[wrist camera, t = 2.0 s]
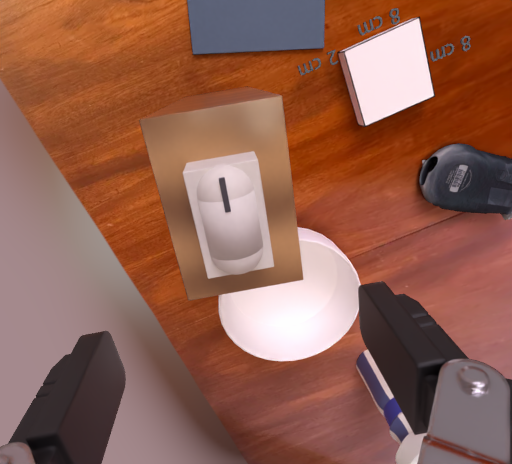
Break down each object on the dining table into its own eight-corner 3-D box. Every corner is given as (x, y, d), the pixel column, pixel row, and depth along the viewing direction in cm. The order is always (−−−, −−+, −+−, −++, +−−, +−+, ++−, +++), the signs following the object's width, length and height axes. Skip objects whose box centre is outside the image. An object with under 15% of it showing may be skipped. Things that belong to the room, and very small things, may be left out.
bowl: (225, 331, 60) (225, 369, 52) (211, 222, 52) (210, 246, 45) (341, 318, 61) (358, 353, 53) (344, 209, 53) (365, 231, 46)
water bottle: (364, 338, 63) (446, 485, 40) (406, 348, 65) (508, 494, 42) (346, 374, 66) (412, 530, 43) (386, 382, 68) (471, 536, 45)
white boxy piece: (186, 161, 21) (179, 177, 18) (254, 149, 21) (260, 163, 18) (209, 261, 24) (207, 291, 20) (269, 250, 24) (277, 278, 20)
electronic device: (515, 150, 54) (432, 136, 50) (547, 164, 49) (459, 149, 45) (483, 206, 58) (404, 197, 54) (510, 223, 54) (426, 215, 50)
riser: (185, 96, 45) (138, 119, 20) (247, 86, 46) (282, 95, 20) (204, 187, 50) (188, 301, 25) (261, 177, 50) (303, 280, 25)
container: (321, 141, 49) (326, 144, 47) (291, 54, 45) (296, 53, 42) (463, 78, 48) (476, 78, 45) (448, -17, 43) (462, -23, 41)
